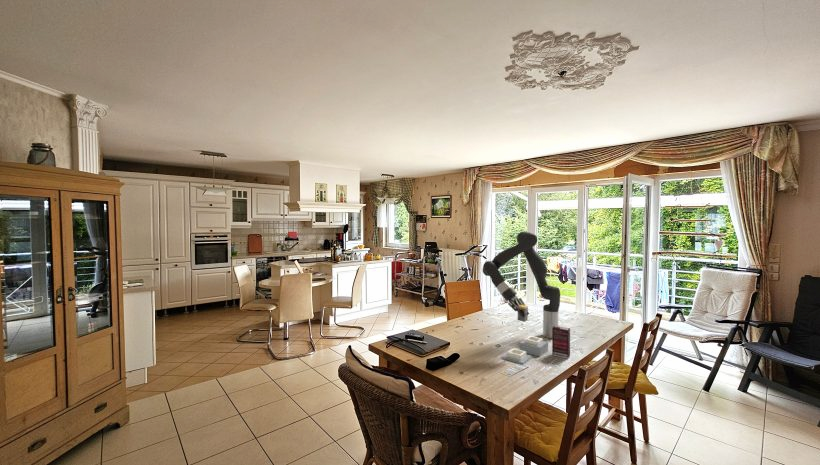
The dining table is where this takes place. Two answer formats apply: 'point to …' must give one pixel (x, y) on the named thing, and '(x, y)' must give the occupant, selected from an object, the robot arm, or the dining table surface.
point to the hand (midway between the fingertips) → (526, 315)
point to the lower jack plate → (517, 356)
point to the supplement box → (561, 341)
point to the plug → (525, 310)
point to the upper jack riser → (534, 346)
